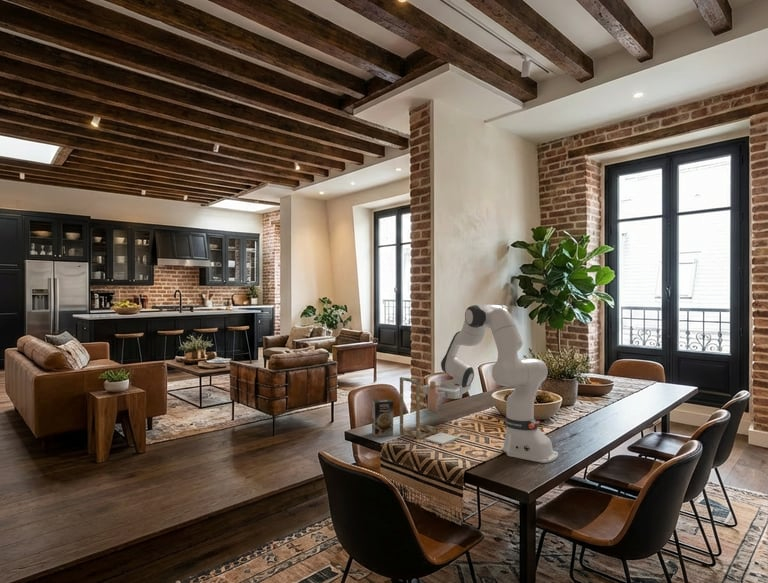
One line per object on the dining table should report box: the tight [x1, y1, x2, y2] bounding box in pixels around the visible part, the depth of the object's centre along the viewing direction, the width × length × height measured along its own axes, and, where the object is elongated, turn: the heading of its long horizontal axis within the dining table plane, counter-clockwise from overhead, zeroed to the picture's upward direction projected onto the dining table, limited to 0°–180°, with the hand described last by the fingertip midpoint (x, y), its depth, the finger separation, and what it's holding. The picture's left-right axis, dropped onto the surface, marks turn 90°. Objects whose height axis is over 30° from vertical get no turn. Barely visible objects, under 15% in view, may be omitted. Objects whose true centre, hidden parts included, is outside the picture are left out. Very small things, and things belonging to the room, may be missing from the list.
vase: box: [427, 380, 439, 412], centre depth 230 cm, size 5×5×14 cm
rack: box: [399, 376, 437, 440], centre depth 221 cm, size 11×14×27 cm
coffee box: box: [371, 398, 394, 438], centre depth 220 cm, size 9×6×16 cm
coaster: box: [424, 432, 459, 446], centre depth 212 cm, size 10×12×1 cm
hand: (431, 393), depth 229 cm, fingers closed on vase, 5 cm apart
